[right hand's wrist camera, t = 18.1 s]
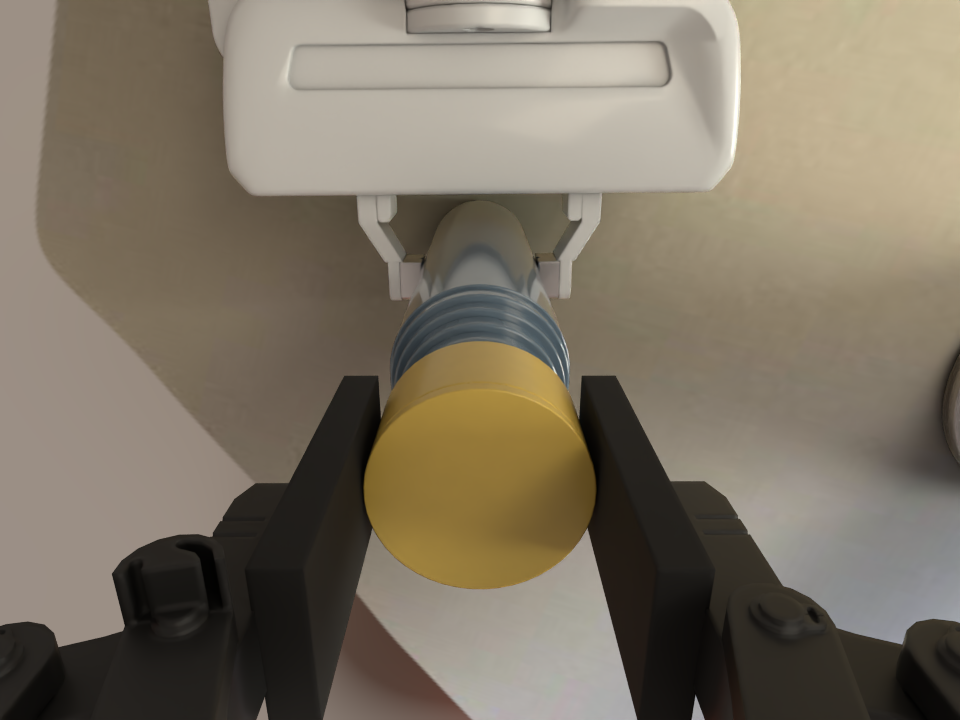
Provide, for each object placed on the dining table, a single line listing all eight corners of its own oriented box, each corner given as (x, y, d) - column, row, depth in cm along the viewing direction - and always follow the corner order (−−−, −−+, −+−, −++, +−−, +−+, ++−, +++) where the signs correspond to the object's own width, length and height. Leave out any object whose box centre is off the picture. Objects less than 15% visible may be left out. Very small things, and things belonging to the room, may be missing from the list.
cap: (343, 404, 14) (315, 464, 12) (512, 302, 14) (519, 343, 11) (452, 543, 16) (447, 623, 13) (611, 457, 15) (638, 526, 13)
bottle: (515, 189, 34) (582, 334, 12) (535, 281, 36) (627, 558, 13) (422, 213, 34) (315, 396, 12) (446, 302, 36) (393, 606, 14)
